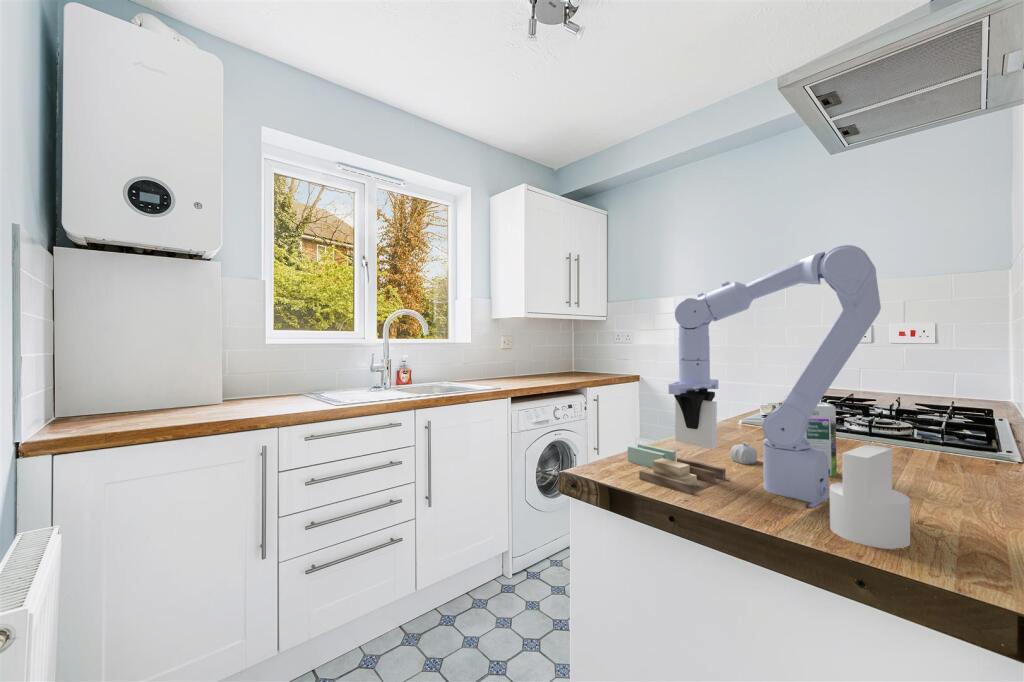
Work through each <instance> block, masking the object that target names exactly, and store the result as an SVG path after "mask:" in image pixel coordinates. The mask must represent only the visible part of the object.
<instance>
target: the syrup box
mask: <svg viewBox="0 0 1024 682" xmlns="http://www.w3.org/2000/svg"><path fill="white" fill-rule="evenodd" d="M836 409H837V408H836V406H835V405H833V404H831V403H829V402H819V403H818V405H817V406H816V408H815V409H814V411H813V413H812V414H811V416H810V417H809V426H808V429H807V431H806V432H805V436H804V437H805V439H806V440H807V441H808V442H809V443H810V448H812V449H814V450H817V451H821V452H824V453H825V454H826V456H827V459H828V477H834V478H837V477H838V471H837V469H838V467H837V466H838V465H837V464H838V463H837V425H836V424H837V416H836V414H837V412H836V411H837V410H836Z"/></svg>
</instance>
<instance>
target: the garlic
mask: <svg viewBox="0 0 1024 682" xmlns="http://www.w3.org/2000/svg"><path fill="white" fill-rule="evenodd" d="M729 454H730V458H731V460H732V461H733V462H735V463H738V464H742V465H747V464H749V465H751V464H752V465H753V464H756V463H757V460H758V450H757V448H755V446H752V445H750V443H748V442H746V441H743V442H742V443H739V444H734V445H733V446H732V447H731V448H730V452H729Z"/></svg>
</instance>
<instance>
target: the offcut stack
mask: <svg viewBox="0 0 1024 682" xmlns="http://www.w3.org/2000/svg"><path fill="white" fill-rule="evenodd" d="M652 471H653V472H652V473H655V474H659V475H662V476H666V477H669V478H673V479H677V480H680V481H684V482H687V483H691V484H694V486H695V485H697V475H694V474H690V465H688V464H684V463H680V462H677V460H676V461H672V460H667V459H663V458H661V459H657V460H654V461H653V468H652Z"/></svg>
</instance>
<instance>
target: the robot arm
mask: <svg viewBox="0 0 1024 682" xmlns="http://www.w3.org/2000/svg"><path fill="white" fill-rule="evenodd" d="M821 279H824V281H825V282H826V284H827V285H829V287H830V288H831V289H832V290H833V291H834V292H835V293H836V296H837V298H838V301H839V304H840V306H841V307H842V311H841V313H840V315H839V316H838V317H837V319H836V320H835V322H834V323H833V325H832V326H831V328H830V329H829V331H828V333H827V334H826V336H825V337H824V339H823V340H822V341H821V343H820V345H819V347H818V348H817V350H816V351H815V353H814V354H813V355H812V358H811V359H810V360H809V362H808V364H807V365H806V367H805V368H804V370H803V372H802V373H801V374H800V376H799V377H798V379H797V381H796V382H795V383H794V385H793V387H792V389H791V390H790V391H789V392H788V394H787V395H786V397H785V399H784V400H783V402H782V403H781V404H780V405H778V406H776V407H775V408H774V409H772V411H770V413H769V414H767V415H766V416H765V417H764V419H763V421H762V426H761V428H762V433H763V436H764V437H765V438H764V439H763V440H762V449H763V450H762V451H763V453H762V456H763V465H762V467H763V470H762V471H763V489H764V491H766V492H768V493H769V494H773V495H777V496H780V497H787V498H791V499H796V500H801V501H804V502H809V503H808V504H806V505H805V507H808V508H815V507H817V506H819V505H820V504H822V503H823V502H825V501H827V500H828V499H830V487H829V476H828V459H827V456H826V454H825V453H824V452H821V451H817V450H814V449H812V448H810V443H809V442H808V441H807V440H806V439H805V437H804V436H805V432H806V431H807V429H808V426H809V417H810V416H811V414H812V413H813V411H814V409H815V408H816V406H817V405H818V403H821V402H820V401H821V400H822V398H823V397H824V396H825V394H826V392H827V391H828V390H829V388H830V387H831V386H832V384H833V383H834V381H835V379H836V378H837V376H838V375H839V374H840V373H841V370H842V369H843V368H844V367H845V365H846V363H847V361H848V360H849V358H850V357H851V355H852V354H853V353H854V351H855V350H856V348H857V347H858V346H859V343H860V342H861V341H862V339H863V338H864V336H865V335H866V334H867V332H868V331H869V329H870V327H871V326H872V325H873V323H874V321H875V320H876V319H877V317H878V315H879V314H880V311H881V308H882V307H881V306H882V305H881V298H880V292H879V286H878V284H879V283H878V278H877V269H876V266H875V264H874V263H873V262H872V260H871V259H870V257H869V255H868V253H867V252H866V251H864V249H862V248H861V247H858V246H855V245H851V244H845V245H838V246H836V247H833V248H832V249H830V250H828V252H827V253H826V252H825V251H822V252H817V253H815V254H812V255H809V256H807V257H804V258H802V259H799V260H797V261H795V262H793V263H790V264H788V265H787V266H784V267H781V268H779V269H777V270H774V271H772V272H770V273H768V274H765V275H763V276H761V277H760V278H757V279H755V280H753V281H750V282H748V283H746V284H745V283H741V282H739V281H733V282H730V281H728V280H727V281H725V282H722V283H721V287H718V288H717V289H714V290H711V291H709V292H707V293H704V292H701V293H698V294H697V298H692V297H689V298H685V299H684V300H682V301H681V302H680V303H679V304H677V306H676V308H675V311H674V317H675V322H677V324H679V325H678V374H679V375H678V377H679V378H678V379H677V380H674V382H672V383H669V384H668V395H673V396H674V398H676V400H677V402H678V403H679V405H680V408H681V410H682V413H683V416H684V420H685V424H686V427H687V428H691V429H698V425H699V415H700V408H701V405H702V402H703V400H706V401H713V400H714V399H715V397H716V391H709V390H719V379H713V378H712V379H711V367H710V366H711V365H710V364H711V362H710V361H711V359H710V358H711V357H710V354H711V353H710V352H711V351H710V349H711V348H710V336H709V335H710V329H709V326H710V324H711V323H712V321H713V322H717V321H720V320H723V319H726V318H728V317H730V316H734V315H736V314H738V313H741V312H744V311H747V310H748V309H749V308H750V306H751V304H752V302H753V301H754V300H757V299H759V298H762V297H766V296H767V295H771V294H774V293H776V292H778V291H782V290H784V289H787V288H791V287H793V286H796V285H798V284H807V285H808V284H810V285H822V284H821Z"/></svg>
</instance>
